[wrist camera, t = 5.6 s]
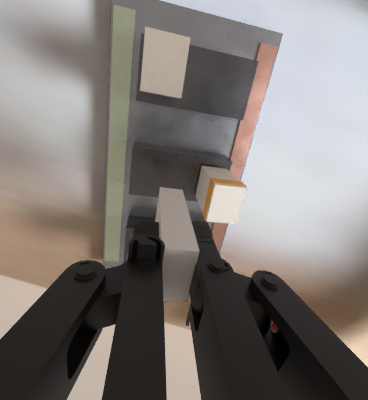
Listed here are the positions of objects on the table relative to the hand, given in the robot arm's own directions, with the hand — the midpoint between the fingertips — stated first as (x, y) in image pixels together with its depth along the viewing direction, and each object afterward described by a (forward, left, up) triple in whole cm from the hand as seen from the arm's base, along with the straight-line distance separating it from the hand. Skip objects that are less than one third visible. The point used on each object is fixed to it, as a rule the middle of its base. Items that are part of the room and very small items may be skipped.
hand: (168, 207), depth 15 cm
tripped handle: (-4, 0, -6) cm, 7 cm away
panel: (-1, 0, -10) cm, 10 cm away
